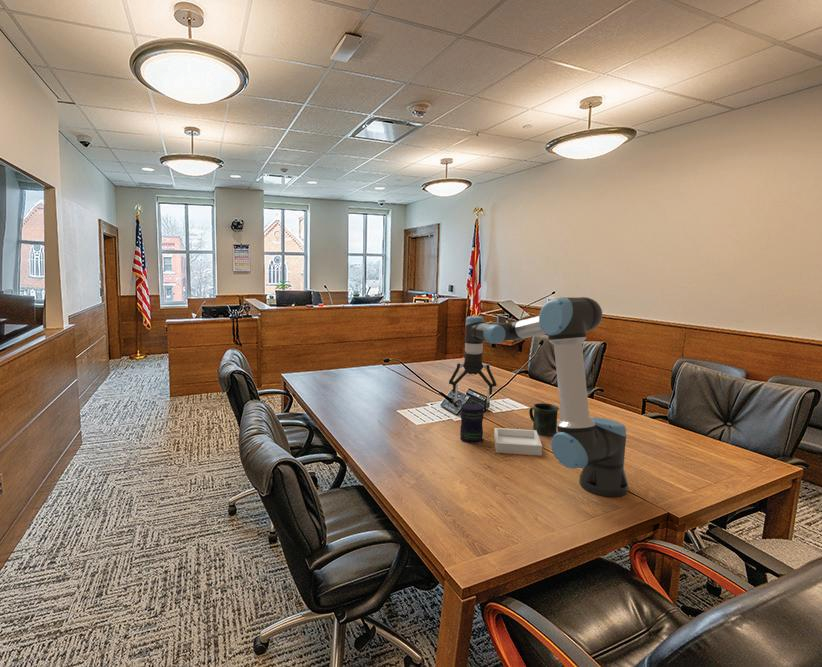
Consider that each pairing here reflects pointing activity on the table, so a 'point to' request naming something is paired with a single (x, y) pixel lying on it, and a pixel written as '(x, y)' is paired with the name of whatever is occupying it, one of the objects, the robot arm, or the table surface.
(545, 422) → the mug
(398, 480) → the table surface
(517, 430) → the tray
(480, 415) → the dark blue canister
